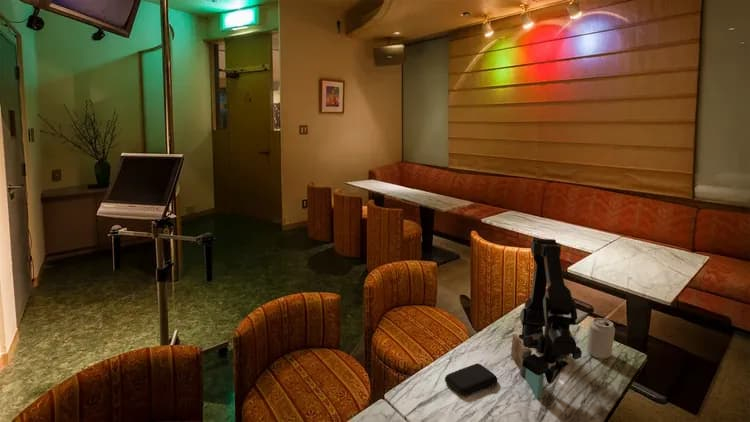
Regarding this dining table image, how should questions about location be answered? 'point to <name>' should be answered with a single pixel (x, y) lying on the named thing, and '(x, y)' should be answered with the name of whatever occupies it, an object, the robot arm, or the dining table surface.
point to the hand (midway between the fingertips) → (549, 382)
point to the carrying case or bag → (471, 379)
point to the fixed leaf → (519, 352)
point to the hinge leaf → (534, 381)
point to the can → (600, 338)
